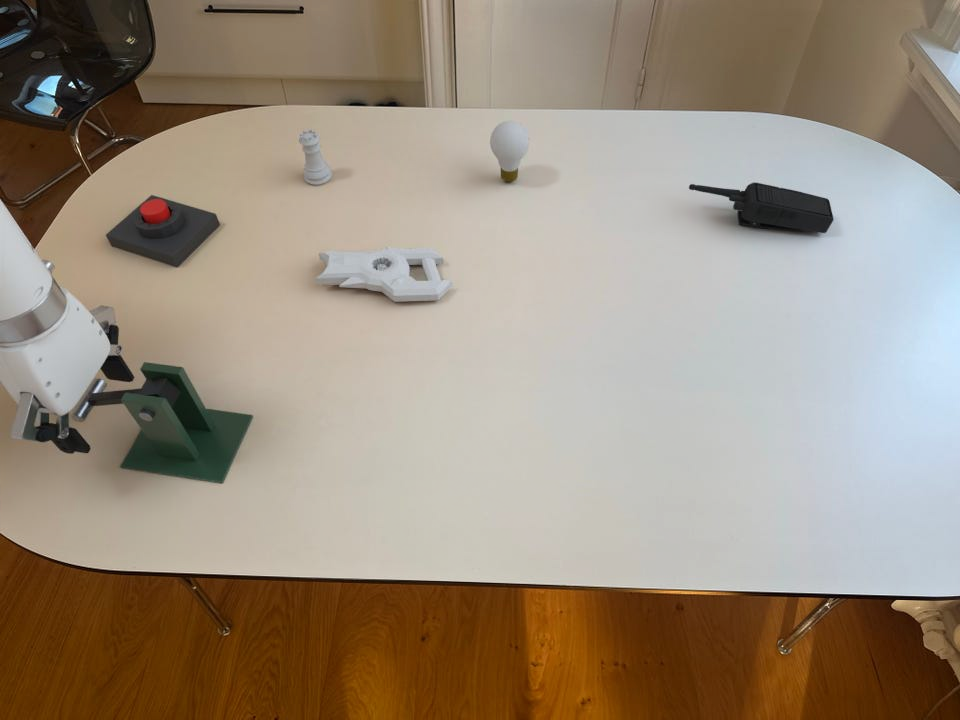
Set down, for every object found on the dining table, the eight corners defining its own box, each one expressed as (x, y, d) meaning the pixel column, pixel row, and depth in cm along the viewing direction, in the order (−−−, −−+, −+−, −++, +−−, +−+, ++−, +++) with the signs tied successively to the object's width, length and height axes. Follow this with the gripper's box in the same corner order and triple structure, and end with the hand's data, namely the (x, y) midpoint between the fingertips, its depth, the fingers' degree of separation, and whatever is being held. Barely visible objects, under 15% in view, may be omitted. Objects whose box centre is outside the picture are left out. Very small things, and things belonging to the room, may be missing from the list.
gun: (312, 291, 91) (317, 241, 97) (316, 310, 93) (321, 259, 100) (453, 287, 92) (449, 238, 99) (453, 306, 95) (449, 256, 101)
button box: (111, 246, 103) (99, 225, 100) (156, 206, 109) (146, 184, 106) (177, 267, 100) (167, 246, 97) (220, 225, 105) (212, 203, 102)
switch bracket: (124, 472, 79) (75, 411, 70) (160, 407, 84) (119, 343, 75) (225, 487, 77) (188, 427, 68) (255, 420, 83) (225, 356, 74)
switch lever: (80, 425, 76) (63, 412, 75) (103, 389, 79) (88, 375, 78) (165, 419, 72) (150, 405, 70) (187, 381, 75) (172, 366, 73)
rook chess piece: (299, 183, 112) (287, 139, 105) (312, 167, 114) (301, 123, 108) (324, 188, 111) (314, 144, 104) (337, 172, 113) (328, 128, 107)
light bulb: (510, 164, 114) (511, 108, 106) (535, 181, 111) (538, 125, 103) (482, 179, 111) (481, 122, 104) (507, 197, 108) (508, 140, 101)
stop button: (139, 221, 101) (134, 211, 100) (156, 206, 103) (151, 196, 102) (159, 227, 100) (154, 217, 99) (175, 212, 102) (171, 202, 101)
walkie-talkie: (832, 236, 98) (689, 212, 99) (814, 239, 104) (680, 216, 105) (842, 191, 97) (698, 168, 98) (824, 197, 103) (688, 175, 104)
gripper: (35, 240, 71) (108, 350, 84) (-79, 373, 60) (25, 475, 74) (104, 248, 70) (166, 357, 83) (0, 385, 59) (91, 485, 73)
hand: (100, 412), depth 78 cm, fingers open, 9 cm apart
